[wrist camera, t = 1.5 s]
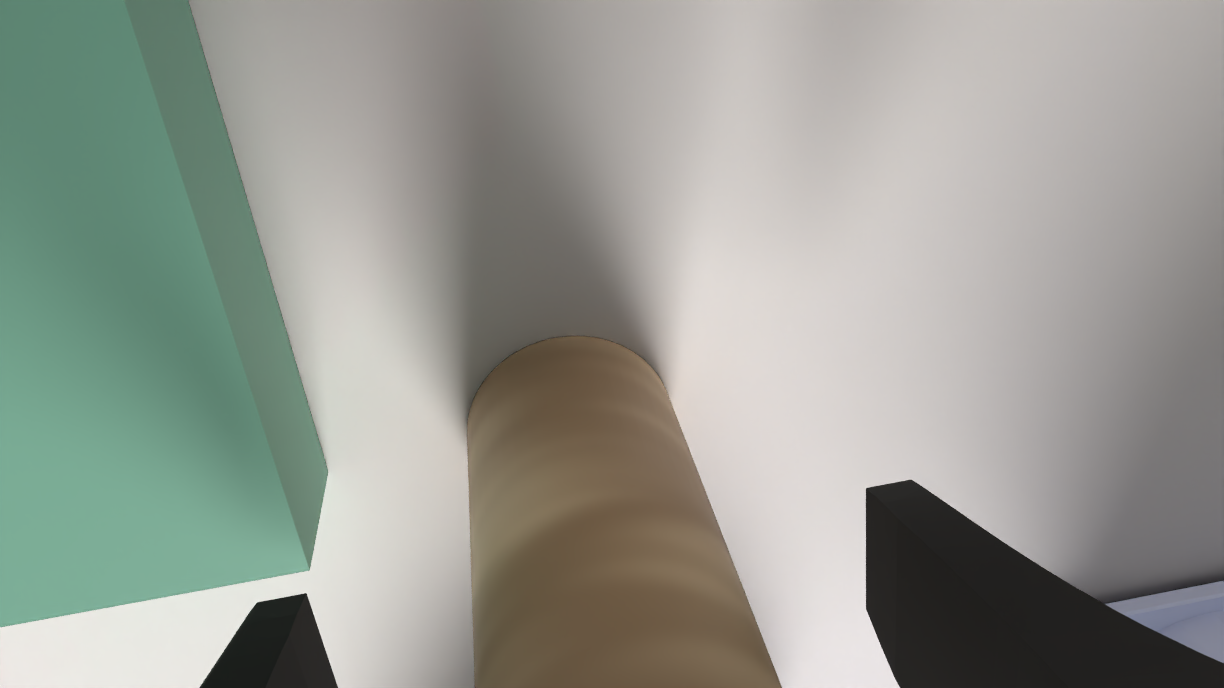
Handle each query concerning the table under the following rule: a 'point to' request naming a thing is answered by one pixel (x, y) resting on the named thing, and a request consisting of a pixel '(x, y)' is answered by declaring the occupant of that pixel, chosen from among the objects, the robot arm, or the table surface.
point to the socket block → (135, 326)
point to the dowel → (597, 533)
